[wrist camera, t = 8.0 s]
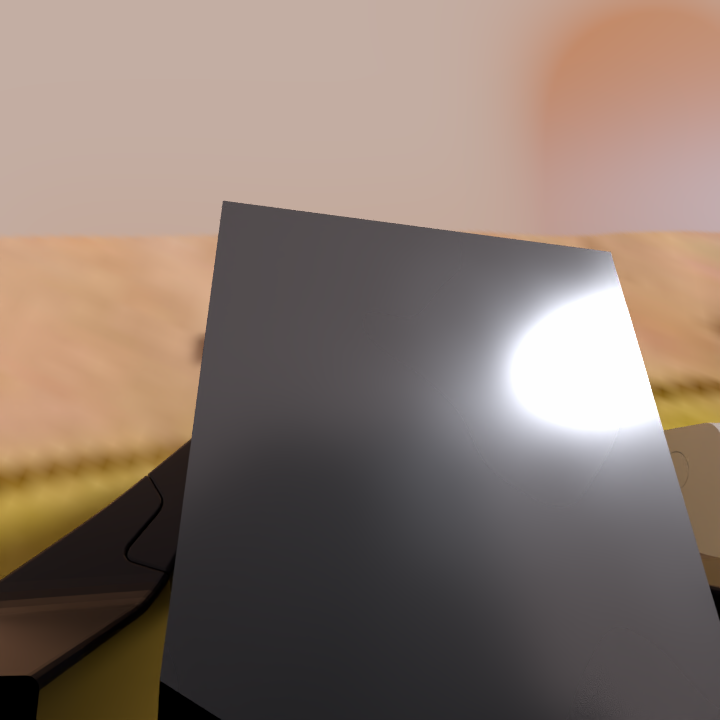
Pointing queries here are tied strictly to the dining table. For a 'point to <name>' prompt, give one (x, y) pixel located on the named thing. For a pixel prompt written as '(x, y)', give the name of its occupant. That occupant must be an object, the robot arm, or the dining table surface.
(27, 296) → the dining table surface
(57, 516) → the dining table surface
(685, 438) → the white slotted device
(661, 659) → the block
